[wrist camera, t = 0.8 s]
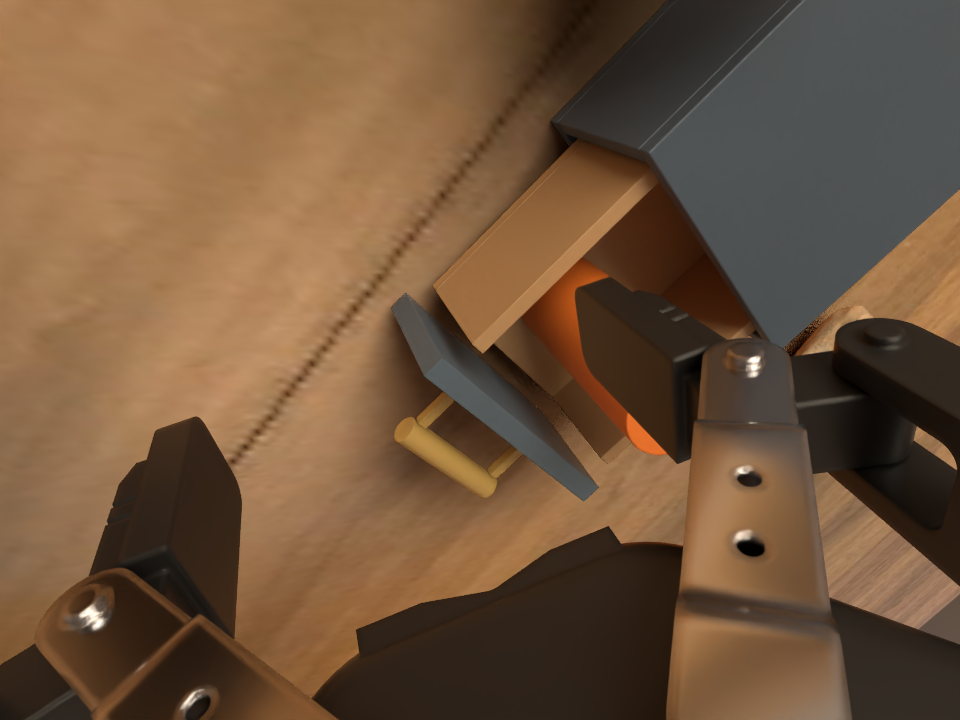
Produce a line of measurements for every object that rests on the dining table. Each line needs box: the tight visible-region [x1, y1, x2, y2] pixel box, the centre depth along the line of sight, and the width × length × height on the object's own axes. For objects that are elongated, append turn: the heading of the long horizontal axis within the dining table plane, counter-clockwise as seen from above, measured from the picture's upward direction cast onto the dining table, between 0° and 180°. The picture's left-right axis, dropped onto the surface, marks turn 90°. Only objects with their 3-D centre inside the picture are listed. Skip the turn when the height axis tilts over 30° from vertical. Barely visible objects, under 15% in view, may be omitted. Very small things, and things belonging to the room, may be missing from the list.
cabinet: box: [551, 0, 960, 348], centre depth 31 cm, size 18×15×10 cm
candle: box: [522, 257, 667, 455], centre depth 30 cm, size 5×5×13 cm
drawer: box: [391, 138, 756, 501], centre depth 33 cm, size 21×13×8 cm, turn 131°
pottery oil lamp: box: [794, 306, 874, 356], centre depth 45 cm, size 9×12×7 cm
